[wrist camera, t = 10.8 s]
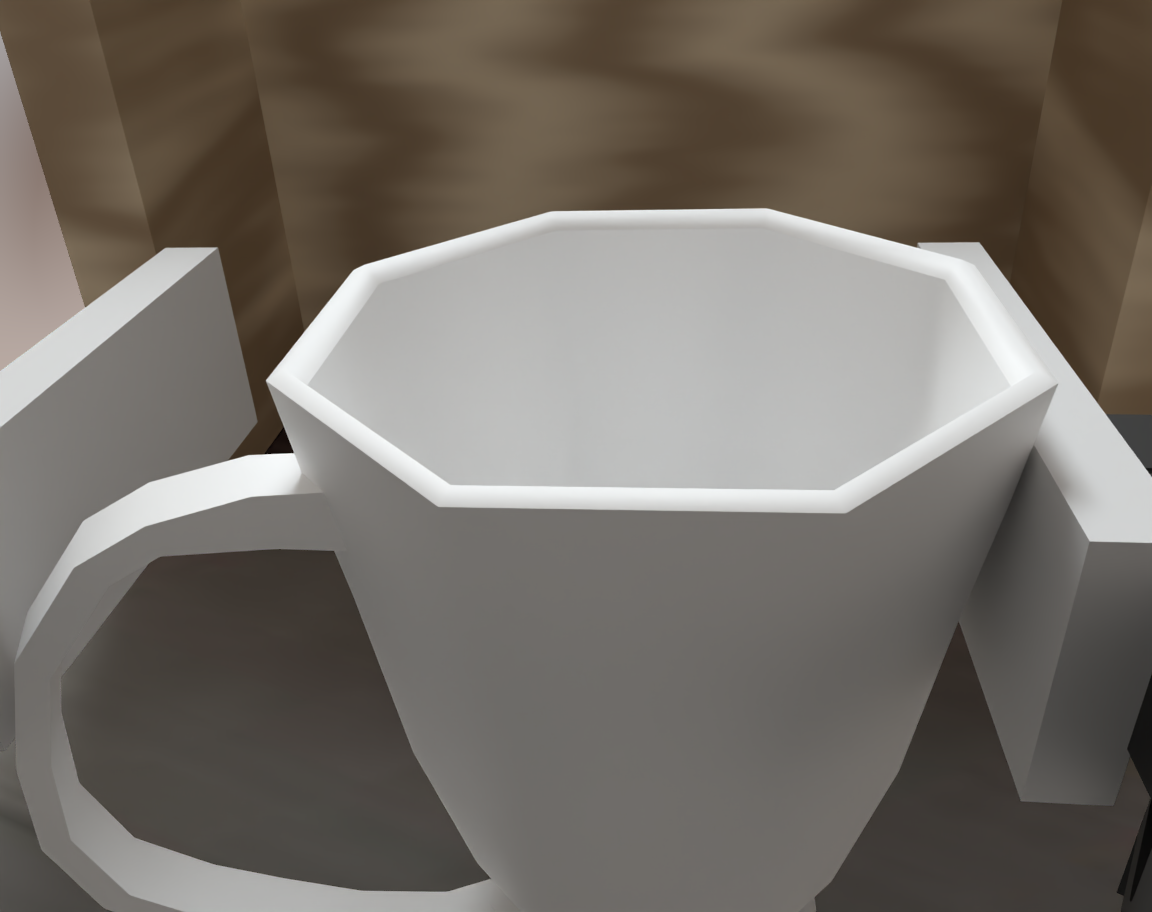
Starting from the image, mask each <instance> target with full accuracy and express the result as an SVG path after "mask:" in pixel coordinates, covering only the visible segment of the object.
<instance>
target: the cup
mask: <svg viewBox="0 0 1152 912" xmlns="http://www.w3.org/2000/svg"><path fill="white" fill-rule="evenodd" d="M266 382H267V385H268V387H269V390H270V393H271V395H272V398H273V400H274V403H275V405H276V408H277V410H278V413H279V416H280V418H281V421H282V423H283V426H284V428H285V431H286V433H287V436H288V439H289V441H290V444H291V446H292V449H293V451H294V453H287V454H265V455H248V456H244V457H240V458H237V459H233V460H229V461H226V462H222V463H218V464H215V465H211V466H207V467H204V468H200V469H196V470H193V471H189V472H185V473H182V474H178V475H174V476H171V477H167V478H163V479H160V480H156V481H152V482H149V483H147V484H146V485H144V486H142V487H140V488H139V489H137V490H135V491H134V492H132V493H130V494H128V495H127V496H125V497H123V498H121V499H120V500H118V501H116V502H115V503H113V504H111V505H109V506H108V507H106V508H104V509H103V510H101V511H99V512H97V513H96V514H94V515H92V516H91V517H89V518H87V519H85V520H84V521H83V522H82V524H81V525H80V527H79V529H78V530H77V532H76V533H75V535H74V537H73V538H72V540H71V542H70V543H69V545H68V546H67V548H66V550H65V551H64V553H63V555H62V556H61V558H60V560H59V561H58V563H57V564H56V566H55V568H54V569H53V571H52V573H51V574H50V576H49V577H48V579H47V581H46V582H45V584H44V586H43V587H42V589H41V591H40V592H39V594H38V595H37V597H36V599H35V600H34V602H33V604H32V605H31V607H30V608H29V610H28V612H27V615H26V619H25V623H24V627H23V631H22V635H21V639H20V643H19V647H18V651H17V655H16V659H15V663H14V686H15V741H16V772H17V775H18V778H19V782H20V785H21V788H22V791H23V794H24V797H25V800H26V804H27V807H28V810H29V813H30V816H31V819H32V823H33V826H34V829H35V832H36V835H37V838H38V841H39V845H40V848H41V850H42V851H43V852H44V853H45V854H46V855H47V856H48V857H49V858H51V859H52V860H53V861H54V862H55V863H56V864H57V865H58V866H59V867H60V868H61V869H62V870H63V871H64V872H65V873H66V874H68V875H69V876H70V877H71V878H72V879H73V880H74V881H75V882H76V883H77V884H78V885H79V886H80V887H81V888H82V889H83V890H85V891H86V892H87V893H88V894H89V895H90V896H91V897H92V898H93V899H94V900H95V901H96V902H97V903H98V904H99V905H101V906H102V907H103V908H104V909H107V910H110V911H113V912H816V904H815V896H816V895H817V894H818V893H819V892H820V891H822V890H823V889H824V888H825V887H826V886H827V885H828V884H829V883H830V882H831V881H832V880H833V878H834V877H835V875H836V873H837V872H838V870H839V869H840V867H841V865H842V864H843V862H844V860H845V859H846V857H847V855H848V854H849V852H850V851H851V849H852V847H853V846H854V844H855V842H856V841H857V839H858V838H859V836H860V834H861V833H862V831H863V829H864V828H865V826H866V824H867V823H868V821H869V820H870V818H871V816H872V815H873V813H874V811H875V810H876V808H877V807H878V805H879V803H880V802H881V800H882V798H883V797H884V795H885V793H886V792H887V790H888V789H889V787H890V785H891V784H892V782H893V780H894V779H895V777H896V776H897V774H898V772H899V770H900V767H901V765H902V762H903V760H904V757H905V755H906V752H907V750H908V747H909V745H910V742H911V740H912V737H913V735H914V732H915V730H916V727H917V725H918V722H919V720H920V717H921V715H922V712H923V710H924V707H925V704H926V702H927V699H928V697H929V694H930V692H931V689H932V687H933V684H934V682H935V679H936V677H937V674H938V672H939V669H940V667H941V664H942V662H943V659H944V657H945V654H946V652H947V649H948V647H949V644H950V642H951V639H952V637H953V634H954V632H955V629H956V627H957V624H958V621H959V619H960V616H961V614H962V612H963V609H964V607H965V605H966V602H967V600H968V598H969V596H970V593H971V591H972V589H973V586H974V584H975V582H976V580H977V577H978V575H979V573H980V570H981V568H982V566H983V563H984V561H985V559H986V557H987V554H988V552H989V550H990V547H991V545H992V543H993V541H994V538H995V536H996V534H997V531H998V529H999V527H1000V525H1001V522H1002V520H1003V518H1004V515H1005V513H1006V511H1007V509H1008V506H1009V504H1010V501H1011V499H1012V496H1013V494H1014V492H1015V489H1016V487H1017V484H1018V482H1019V479H1020V477H1021V474H1022V472H1023V469H1024V467H1025V464H1026V462H1027V460H1028V457H1029V455H1030V452H1031V450H1032V447H1033V445H1034V442H1035V440H1036V437H1037V435H1038V432H1039V430H1040V427H1041V425H1042V423H1043V420H1044V418H1045V415H1046V413H1047V410H1048V408H1049V405H1050V403H1051V400H1052V398H1053V395H1054V393H1055V391H1056V388H1057V386H1058V382H1057V380H1056V379H1055V378H1054V376H1053V375H1052V373H1051V372H1050V371H1049V369H1048V368H1047V366H1046V365H1045V364H1044V362H1043V361H1042V359H1041V358H1040V356H1039V355H1038V354H1037V352H1036V351H1035V349H1034V348H1033V347H1032V345H1031V344H1030V342H1029V341H1028V340H1027V338H1026V337H1025V335H1024V334H1023V333H1022V331H1021V330H1020V328H1019V327H1018V325H1017V324H1016V323H1015V321H1014V320H1013V318H1012V317H1011V316H1010V314H1009V313H1008V311H1007V310H1006V309H1005V307H1004V306H1003V304H1002V303H1001V302H1000V300H999V299H998V297H997V296H996V294H995V293H994V292H993V290H992V289H991V287H990V286H989V285H988V283H987V282H986V280H985V279H984V278H983V276H982V275H981V273H980V272H979V271H978V269H977V268H976V266H975V265H973V264H971V263H969V262H966V261H964V260H961V259H958V258H954V257H950V256H946V255H942V254H939V253H935V252H931V251H927V250H923V249H920V248H916V247H912V246H908V245H904V244H901V243H897V242H893V241H889V240H885V239H882V238H878V237H874V236H870V235H866V234H863V233H859V232H855V231H851V230H847V229H844V228H840V227H836V226H832V225H828V224H825V223H821V222H817V221H813V220H809V219H806V218H802V217H798V216H794V215H790V214H787V213H783V212H779V211H775V210H771V209H768V208H758V209H684V210H611V211H551V212H547V213H544V214H540V215H537V216H533V217H530V218H526V219H523V220H519V221H516V222H512V223H509V224H505V225H502V226H498V227H495V228H491V229H488V230H484V231H481V232H477V233H474V234H470V235H467V236H463V237H460V238H456V239H453V240H449V241H446V242H442V243H439V244H435V245H432V246H428V247H425V248H421V249H418V250H414V251H411V252H407V253H404V254H400V255H397V256H393V257H390V258H386V259H383V260H379V261H376V262H372V263H369V264H365V265H363V266H361V267H359V268H357V269H355V270H353V271H352V273H351V274H350V275H349V276H348V278H347V279H346V280H345V281H344V283H343V284H342V285H341V287H340V288H339V289H338V290H337V292H336V293H335V294H334V295H333V297H332V298H331V299H330V300H329V302H328V303H327V304H326V305H325V307H324V308H323V309H322V310H321V312H320V313H319V314H318V316H317V317H316V318H315V319H314V321H313V322H312V323H311V324H310V326H309V327H308V328H307V329H306V331H305V332H304V333H303V334H302V336H301V337H300V338H299V339H298V341H297V342H296V343H295V345H294V346H293V347H292V348H291V350H290V351H289V352H288V353H287V355H286V356H285V357H284V358H283V360H282V361H281V362H280V363H279V365H278V366H277V367H276V368H275V370H274V371H273V372H272V374H271V375H270V376H269V377H268V379H267V380H266ZM269 549H296V550H325V551H334V552H335V554H336V557H337V559H338V561H339V564H340V566H341V568H342V571H343V573H344V576H345V578H346V580H347V583H348V585H349V588H350V590H351V592H352V595H353V597H354V600H355V602H356V605H357V607H358V610H359V613H360V615H361V618H362V620H363V623H364V626H365V628H366V631H367V633H368V636H369V639H370V641H371V644H372V646H373V649H374V652H375V654H376V657H377V659H378V662H379V665H380V667H381V670H382V672H383V675H384V678H385V680H386V683H387V686H388V688H389V691H390V693H391V696H392V699H393V701H394V704H395V706H396V709H397V712H398V714H399V717H400V719H401V722H402V725H403V727H404V730H405V732H406V735H407V738H408V740H409V743H410V745H411V748H412V751H413V753H414V755H415V756H416V758H417V760H418V762H419V763H420V765H421V767H422V768H423V770H424V772H425V774H426V775H427V777H428V779H429V781H430V782H431V784H432V786H433V788H434V789H435V791H436V793H437V794H438V796H439V798H440V800H441V801H442V803H443V805H444V807H445V808H446V810H447V812H448V813H449V815H450V817H451V819H452V820H453V822H454V824H455V826H456V827H457V829H458V831H459V832H460V834H461V836H462V838H463V839H464V841H465V843H466V845H467V846H468V848H469V850H470V852H471V853H472V855H473V857H474V858H475V860H476V862H477V863H478V865H479V866H480V867H481V868H482V869H483V870H484V871H485V872H486V873H487V875H488V876H489V877H490V878H491V879H488V880H485V881H482V882H478V883H475V884H472V885H468V886H465V887H462V888H458V889H455V890H452V891H448V892H412V891H360V890H354V889H348V888H341V887H335V886H329V885H323V884H317V883H310V882H304V881H298V880H292V879H286V878H280V877H275V876H270V875H265V874H260V873H255V872H249V871H244V870H239V869H234V868H229V867H224V866H219V865H214V864H211V863H208V862H205V861H202V860H199V859H196V858H193V857H190V856H187V855H184V854H181V853H178V852H175V851H172V850H169V849H166V848H163V847H160V846H158V845H155V844H152V843H149V842H146V841H143V840H140V839H137V838H134V837H133V836H132V835H131V834H130V833H129V832H128V831H127V830H126V829H125V828H124V827H123V826H122V825H121V824H120V823H119V822H118V821H117V820H116V819H115V818H114V817H113V816H112V815H111V814H110V813H109V812H108V811H107V810H106V809H105V808H104V807H103V806H102V805H101V804H100V803H99V802H98V801H97V800H96V799H95V798H94V797H93V796H92V795H91V794H90V793H89V792H88V791H87V790H86V789H85V788H84V787H83V786H82V785H81V784H80V783H79V780H78V776H77V772H76V768H75V764H74V760H73V756H72V752H71V748H70V744H69V740H68V736H67V732H66V728H65V724H64V720H63V716H62V713H61V661H62V660H63V658H64V656H65V655H66V653H67V652H68V650H69V648H70V647H71V645H72V644H73V642H74V641H75V639H76V637H77V636H78V634H79V633H80V631H81V629H82V628H83V626H84V625H85V623H86V621H87V620H88V618H89V617H90V615H91V614H92V612H93V610H94V609H95V607H96V606H97V604H98V602H99V601H100V599H101V598H102V596H103V595H104V593H105V591H106V590H107V588H108V587H109V586H110V585H112V584H113V583H115V582H117V581H119V580H120V579H122V578H124V577H126V576H127V575H129V574H131V573H133V572H134V571H136V570H138V569H140V568H141V567H143V566H145V565H147V564H148V563H150V562H152V561H154V560H155V559H157V558H159V557H162V556H177V555H192V554H208V553H223V552H238V551H254V550H269Z"/></svg>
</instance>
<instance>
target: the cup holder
mask: <svg viewBox="0 0 1152 912" xmlns="http://www.w3.org/2000/svg"><path fill="white" fill-rule="evenodd" d="M0 32H1V36H2V39H3V42H4V45H5V48H6V52H7V55H8V58H9V61H10V65H11V68H12V71H13V75H14V78H15V81H16V84H17V87H18V91H19V94H20V97H21V100H22V104H23V107H24V110H25V113H26V117H27V120H28V123H29V126H30V130H31V133H32V136H33V139H34V142H35V146H36V149H37V152H38V156H39V159H40V162H41V165H42V169H43V172H44V175H45V178H46V182H47V185H48V188H49V191H50V195H51V198H52V201H53V204H54V207H55V211H56V214H57V217H58V220H59V224H60V227H61V230H62V234H63V237H64V240H65V243H66V246H67V250H68V253H69V256H70V259H71V263H72V266H73V269H74V272H75V276H76V279H77V282H78V286H79V289H80V292H81V295H82V299H83V302H84V305H85V307H87V306H88V305H90V304H91V303H92V302H94V301H95V300H96V299H98V298H99V297H100V296H102V295H103V294H104V293H106V292H107V291H108V290H110V289H111V288H112V287H114V286H115V285H116V284H118V283H119V282H120V281H122V280H123V279H124V278H126V277H127V276H128V275H130V274H131V273H132V272H134V271H135V270H136V269H138V268H139V267H140V266H142V265H143V264H145V263H146V262H147V261H149V260H150V259H151V258H153V257H154V256H155V255H157V254H158V253H159V252H161V251H162V250H163V249H165V248H214V247H218V250H219V254H220V259H221V263H222V267H223V272H224V276H225V281H226V285H227V289H228V294H229V298H230V302H231V307H232V311H233V316H234V320H235V324H236V329H237V333H238V338H239V342H240V346H241V351H242V355H243V359H244V364H245V368H246V373H247V377H248V381H249V386H250V390H251V395H252V399H253V403H254V408H255V412H256V417H257V421H258V422H257V423H256V425H255V426H254V427H253V429H252V430H251V431H250V432H249V434H248V435H247V436H246V438H245V439H244V440H243V442H242V443H241V444H240V445H239V447H238V448H237V449H236V451H235V452H234V453H233V455H232V456H231V457H230V458H229V460H233V459H237V458H240V457H244V456H248V455H264V454H265V452H266V451H267V449H268V448H269V447H270V445H271V444H272V442H273V441H274V440H275V438H276V437H277V436H278V434H279V433H280V431H281V430H282V429H283V427H284V426H283V423H282V421H281V418H280V416H279V413H278V410H277V408H276V405H275V403H274V400H273V398H272V395H271V393H270V390H269V387H268V385H267V382H266V380H267V379H268V377H269V376H270V375H271V374H272V372H273V371H274V370H275V368H276V367H277V366H278V365H279V363H280V362H281V361H282V360H283V358H284V357H285V356H286V355H287V353H288V352H289V351H290V350H291V348H292V347H293V346H294V345H295V343H296V342H297V341H298V339H299V338H300V337H301V336H302V334H303V333H304V332H305V331H306V329H307V328H308V327H309V326H310V324H311V323H312V322H313V321H314V319H315V318H316V317H317V316H318V314H319V313H320V312H321V310H322V309H323V308H324V307H325V305H326V304H327V303H328V302H329V300H330V299H331V298H332V297H333V295H334V294H335V293H336V292H337V290H338V289H339V288H340V287H341V285H342V284H343V283H344V281H345V280H346V279H347V278H348V276H349V275H350V274H351V273H352V271H353V270H355V269H357V268H359V267H361V266H363V265H365V264H369V263H372V262H376V261H379V260H383V259H386V258H390V257H393V256H397V255H400V254H404V253H407V252H411V251H414V250H418V249H421V248H425V247H428V246H432V245H435V244H439V243H442V242H446V241H449V240H453V239H456V238H460V237H463V236H467V235H470V234H474V233H477V232H481V231H484V230H488V229H491V228H495V227H498V226H502V225H505V224H509V223H512V222H516V221H519V220H523V219H526V218H530V217H533V216H537V215H540V214H544V213H547V212H551V211H611V210H684V209H758V208H768V209H771V210H775V211H779V212H783V213H787V214H790V215H794V216H798V217H802V218H806V219H809V220H813V221H817V222H821V223H825V224H828V225H832V226H836V227H840V228H844V229H847V230H851V231H855V232H859V233H863V234H866V235H870V236H874V237H878V238H882V239H885V240H889V241H893V242H897V243H901V244H904V245H908V246H912V247H916V248H917V244H918V243H957V242H979V243H980V244H981V245H982V247H983V248H984V250H985V251H986V252H987V254H988V255H989V256H990V258H991V259H992V260H993V262H994V263H995V264H996V266H997V267H998V269H999V270H1000V271H1001V273H1002V274H1003V275H1004V277H1005V278H1006V279H1007V281H1008V282H1009V284H1010V285H1011V286H1012V288H1013V289H1014V290H1015V292H1016V293H1017V294H1018V296H1019V297H1020V298H1021V300H1022V301H1023V303H1024V304H1025V305H1026V307H1027V308H1028V309H1029V311H1030V312H1031V313H1032V315H1033V316H1034V318H1035V319H1036V320H1037V322H1038V323H1039V324H1040V326H1041V327H1042V328H1043V330H1044V331H1045V332H1046V334H1047V335H1048V337H1049V338H1050V339H1051V341H1052V342H1053V343H1054V345H1055V346H1056V347H1057V349H1058V350H1059V352H1060V353H1061V354H1062V356H1063V357H1064V358H1065V360H1066V361H1067V362H1068V364H1069V365H1070V366H1071V368H1072V369H1073V371H1074V372H1075V373H1076V375H1077V376H1078V377H1079V379H1080V380H1081V381H1082V383H1083V384H1084V386H1085V387H1086V388H1087V390H1088V391H1089V392H1090V394H1091V395H1092V396H1093V398H1094V399H1095V400H1096V402H1097V403H1098V405H1099V406H1100V407H1101V409H1102V410H1103V411H1104V413H1105V414H1135V415H1152V0H0ZM229 460H228V461H229Z"/></svg>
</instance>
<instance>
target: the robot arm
mask: <svg viewBox="0 0 1152 912" xmlns="http://www.w3.org/2000/svg"><path fill="white" fill-rule="evenodd" d="M917 248H920V249H923V250H927V251H931V252H935V253H939V254H942V255H946V256H950V257H954V258H958V259H961V260H964V261H966V262H969V263H971V264H973V265H975V266H976V268H977V269H978V271H979V272H980V273H981V275H982V276H983V278H984V279H985V280H986V282H987V283H988V285H989V286H990V287H991V289H992V290H993V292H994V293H995V294H996V296H997V297H998V299H999V300H1000V302H1001V303H1002V304H1003V306H1004V307H1005V309H1006V310H1007V311H1008V313H1009V314H1010V316H1011V317H1012V318H1013V320H1014V321H1015V323H1016V324H1017V325H1018V327H1019V328H1020V330H1021V331H1022V333H1023V334H1024V335H1025V337H1026V338H1027V340H1028V341H1029V342H1030V344H1031V345H1032V347H1033V348H1034V349H1035V351H1036V352H1037V354H1038V355H1039V356H1040V358H1041V359H1042V361H1043V362H1044V364H1045V365H1046V366H1047V368H1048V369H1049V371H1050V372H1051V373H1052V375H1053V376H1054V378H1055V379H1056V380H1057V382H1058V386H1057V388H1056V391H1055V393H1054V395H1053V398H1052V400H1051V403H1050V405H1049V408H1048V410H1047V413H1046V415H1045V418H1044V420H1043V423H1042V425H1041V427H1040V430H1039V432H1038V435H1037V437H1036V440H1035V442H1034V445H1033V447H1032V450H1031V452H1030V455H1029V457H1028V460H1027V462H1026V464H1025V467H1024V469H1023V472H1022V474H1021V477H1020V479H1019V482H1018V484H1017V487H1016V489H1015V492H1014V494H1013V496H1012V499H1011V501H1010V504H1009V506H1008V509H1007V511H1006V513H1005V515H1004V518H1003V520H1002V522H1001V525H1000V527H999V529H998V531H997V534H996V536H995V538H994V541H993V543H992V545H991V547H990V550H989V552H988V554H987V557H986V559H985V561H984V563H983V566H982V568H981V570H980V573H979V575H978V577H977V580H976V582H975V584H974V586H973V589H972V591H971V593H970V596H969V598H968V600H967V602H966V605H965V607H964V609H963V612H962V614H961V616H960V619H959V624H960V626H961V629H962V632H963V635H964V638H965V641H966V644H967V647H968V650H969V653H970V655H971V658H972V661H973V664H974V667H975V670H976V673H977V676H978V679H979V682H980V684H981V687H982V690H983V693H984V696H985V699H986V702H987V705H988V708H989V711H990V713H991V716H992V719H993V722H994V725H995V728H996V731H997V734H998V737H999V739H1000V742H1001V745H1002V748H1003V751H1004V754H1005V757H1006V760H1007V763H1008V766H1009V768H1010V771H1011V774H1012V777H1013V780H1014V783H1015V786H1016V789H1017V792H1018V795H1019V797H1020V800H1021V801H1022V802H1042V803H1062V804H1082V805H1102V806H1114V804H1115V801H1116V798H1117V795H1118V792H1119V789H1120V786H1121V783H1122V780H1123V777H1124V774H1125V771H1126V768H1127V765H1128V762H1129V759H1130V756H1131V758H1132V760H1133V762H1134V764H1135V767H1136V769H1137V771H1138V773H1139V775H1140V777H1141V779H1142V781H1143V783H1144V785H1145V787H1146V789H1147V791H1148V793H1149V795H1150V801H1149V804H1148V807H1147V810H1146V812H1145V815H1144V818H1143V821H1142V824H1141V826H1140V829H1139V832H1138V835H1137V837H1136V840H1135V843H1134V846H1133V849H1132V851H1131V854H1130V857H1129V860H1128V863H1127V865H1126V868H1125V871H1124V874H1123V877H1122V879H1121V882H1120V885H1119V888H1118V891H1117V893H1119V894H1121V895H1123V896H1124V899H1123V903H1122V908H1121V912H1152V415H1135V414H1105V413H1104V411H1103V410H1102V409H1101V407H1100V406H1099V405H1098V403H1097V402H1096V400H1095V399H1094V398H1093V396H1092V395H1091V394H1090V392H1089V391H1088V390H1087V388H1086V387H1085V386H1084V384H1083V383H1082V381H1081V380H1080V379H1079V377H1078V376H1077V375H1076V373H1075V372H1074V371H1073V369H1072V368H1071V366H1070V365H1069V364H1068V362H1067V361H1066V360H1065V358H1064V357H1063V356H1062V354H1061V353H1060V352H1059V350H1058V349H1057V347H1056V346H1055V345H1054V343H1053V342H1052V341H1051V339H1050V338H1049V337H1048V335H1047V334H1046V332H1045V331H1044V330H1043V328H1042V327H1041V326H1040V324H1039V323H1038V322H1037V320H1036V319H1035V318H1034V316H1033V315H1032V313H1031V312H1030V311H1029V309H1028V308H1027V307H1026V305H1025V304H1024V303H1023V301H1022V300H1021V298H1020V297H1019V296H1018V294H1017V293H1016V292H1015V290H1014V289H1013V288H1012V286H1011V285H1010V284H1009V282H1008V281H1007V279H1006V278H1005V277H1004V275H1003V274H1002V273H1001V271H1000V270H999V269H998V267H997V266H996V264H995V263H994V262H993V260H992V259H991V258H990V256H989V255H988V254H987V252H986V251H985V250H984V248H983V247H982V245H981V244H980V243H979V242H957V243H918V244H917ZM257 422H258V421H257V417H256V412H255V408H254V403H253V399H252V395H251V390H250V386H249V381H248V377H247V373H246V368H245V364H244V359H243V355H242V351H241V346H240V342H239V338H238V333H237V329H236V324H235V320H234V316H233V311H232V307H231V302H230V298H229V294H228V289H227V285H226V281H225V276H224V272H223V267H222V263H221V259H220V254H219V250H218V247H214V248H165V249H163V250H162V251H161V252H159V253H158V254H157V255H155V256H154V257H153V258H151V259H150V260H149V261H147V262H146V263H145V264H143V265H142V266H140V267H139V268H138V269H136V270H135V271H134V272H132V273H131V274H130V275H128V276H127V277H126V278H124V279H123V280H122V281H120V282H119V283H118V284H116V285H115V286H114V287H112V288H111V289H110V290H108V291H107V292H106V293H104V294H103V295H102V296H100V297H99V298H98V299H96V300H95V301H94V302H92V303H91V304H90V305H88V306H87V307H85V308H84V309H83V310H81V311H80V312H79V313H78V314H76V315H75V316H73V317H72V318H71V319H69V320H68V321H67V322H66V323H64V324H63V325H61V326H60V327H59V328H58V329H56V330H55V331H53V332H52V333H51V334H49V335H48V336H47V337H45V338H44V339H43V340H41V341H40V342H39V343H37V344H36V345H35V346H33V347H32V348H31V349H29V350H28V351H26V352H25V353H24V354H22V355H21V356H20V357H18V358H17V359H16V360H15V361H13V362H12V363H10V364H9V365H8V366H6V367H5V368H4V369H2V370H1V371H0V751H5V750H6V749H7V748H8V746H9V745H10V744H11V742H12V741H13V740H14V739H15V686H14V663H15V659H16V655H17V651H18V647H19V643H20V639H21V635H22V631H23V627H24V623H25V619H26V615H27V612H28V610H29V608H30V607H31V605H32V604H33V602H34V600H35V599H36V597H37V595H38V594H39V592H40V591H41V589H42V587H43V586H44V584H45V582H46V581H47V579H48V577H49V576H50V574H51V573H52V571H53V569H54V568H55V566H56V564H57V563H58V561H59V560H60V558H61V556H62V555H63V553H64V551H65V550H66V548H67V546H68V545H69V543H70V542H71V540H72V538H73V537H74V535H75V533H76V532H77V530H78V529H79V527H80V525H81V524H82V522H83V521H84V520H85V519H87V518H89V517H91V516H92V515H94V514H96V513H97V512H99V511H101V510H103V509H104V508H106V507H108V506H109V505H111V504H113V503H115V502H116V501H118V500H120V499H121V498H123V497H125V496H127V495H128V494H130V493H132V492H134V491H135V490H137V489H139V488H140V487H142V486H144V485H146V484H147V483H149V482H152V481H156V480H160V479H163V478H167V477H171V476H174V475H178V474H182V473H185V472H189V471H193V470H196V469H200V468H204V467H207V466H211V465H215V464H218V463H222V462H226V461H228V460H229V458H230V457H231V456H232V455H233V453H234V452H235V451H236V449H237V448H238V447H239V445H240V444H241V443H242V442H243V440H244V439H245V438H246V436H247V435H248V434H249V432H250V431H251V430H252V429H253V427H254V426H255V425H256V423H257ZM148 564H149V563H148ZM148 564H147V565H148ZM147 565H145V566H143V567H141V568H140V569H138V570H136V571H134V572H133V573H131V574H129V575H127V576H126V577H124V578H122V579H120V580H119V581H117V582H115V583H113V584H112V585H110V586H109V587H108V588H107V590H106V591H105V593H104V595H103V596H102V598H101V599H100V601H99V602H98V604H97V606H96V607H95V609H94V610H93V612H92V614H91V615H90V617H89V618H88V620H87V621H86V623H85V625H84V626H83V628H82V629H81V631H80V633H79V634H78V636H77V637H76V639H75V641H74V642H73V644H72V645H71V647H70V648H69V650H68V652H67V653H66V655H65V656H64V658H63V660H62V661H61V677H62V676H63V675H64V673H65V672H66V671H67V670H68V668H69V667H70V666H71V664H72V663H73V662H74V660H75V659H76V658H77V657H78V655H79V654H80V653H81V651H82V650H83V649H84V647H85V646H86V645H87V643H88V642H89V641H90V640H91V638H92V637H93V636H94V634H95V633H96V632H97V630H98V629H99V628H100V627H101V625H102V624H103V623H104V621H105V620H106V619H107V617H108V616H109V615H110V614H111V612H112V611H113V610H114V608H115V607H116V606H117V604H118V603H119V602H120V600H121V599H122V598H123V597H124V595H125V594H126V593H127V591H128V590H129V589H130V587H131V586H132V585H133V584H134V582H135V581H136V580H137V578H138V577H139V576H140V574H141V573H142V572H143V571H144V569H145V568H146V567H147Z"/></svg>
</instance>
